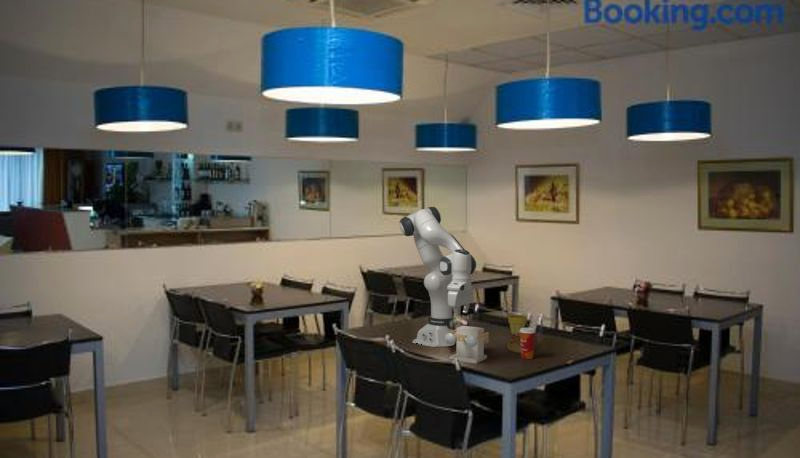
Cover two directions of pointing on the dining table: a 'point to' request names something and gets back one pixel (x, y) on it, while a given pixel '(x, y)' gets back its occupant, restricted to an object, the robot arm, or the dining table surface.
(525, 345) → the paper cup
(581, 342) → the dining table surface
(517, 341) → the pastry
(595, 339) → the dining table surface
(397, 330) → the dining table surface
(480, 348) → the white upright box
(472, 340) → the glasses
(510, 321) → the plant pot
